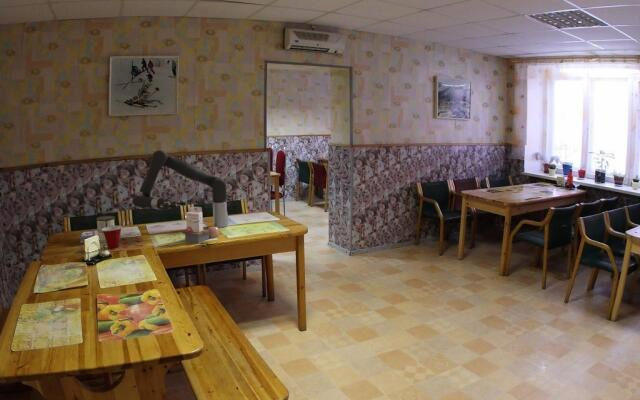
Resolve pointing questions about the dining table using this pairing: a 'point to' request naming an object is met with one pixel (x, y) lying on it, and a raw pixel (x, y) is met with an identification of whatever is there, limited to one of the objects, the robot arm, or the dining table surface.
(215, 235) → the pinkish brown round piece
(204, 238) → the display podium
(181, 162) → the robot arm
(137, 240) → the dining table surface
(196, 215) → the ink cartridge box
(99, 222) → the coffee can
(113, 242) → the plastic cup
